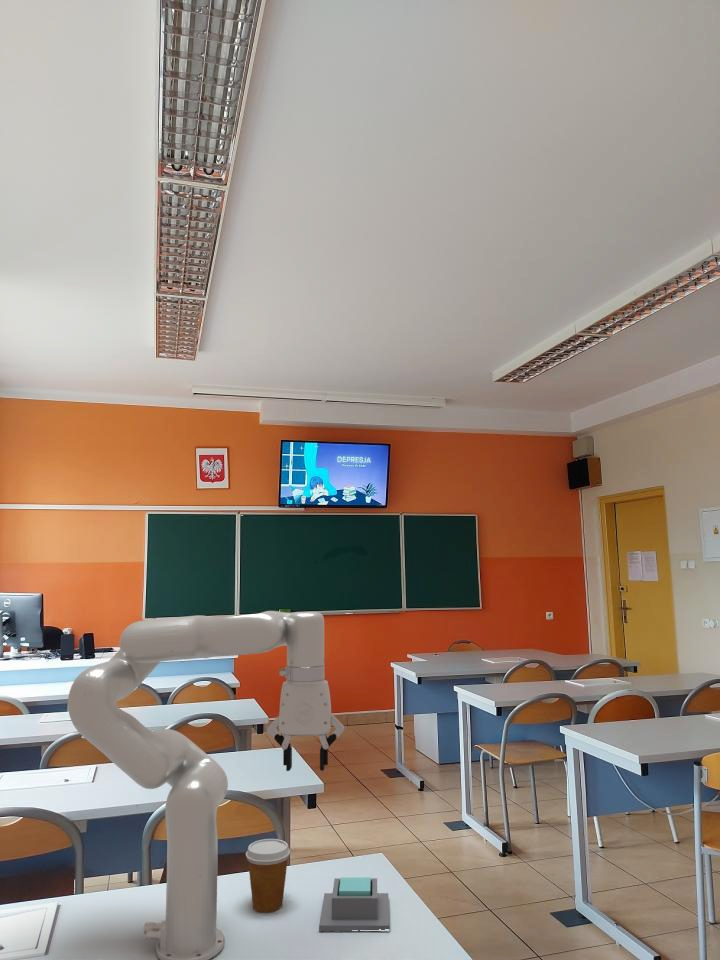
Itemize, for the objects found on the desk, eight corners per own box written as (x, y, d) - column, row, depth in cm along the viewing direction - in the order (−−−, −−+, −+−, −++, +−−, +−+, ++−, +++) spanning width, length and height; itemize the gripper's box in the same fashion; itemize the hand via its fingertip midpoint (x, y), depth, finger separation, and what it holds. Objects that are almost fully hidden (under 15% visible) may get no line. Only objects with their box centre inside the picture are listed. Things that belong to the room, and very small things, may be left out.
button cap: (339, 912, 139) (339, 891, 139) (340, 897, 145) (340, 877, 146) (370, 912, 139) (370, 891, 139) (370, 897, 145) (370, 877, 146)
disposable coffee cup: (295, 911, 143) (295, 850, 145) (250, 920, 140) (251, 857, 142) (283, 892, 152) (283, 835, 154) (241, 900, 149) (241, 841, 150)
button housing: (319, 932, 135) (318, 903, 136) (324, 899, 149) (324, 873, 149) (389, 932, 134) (389, 903, 135) (388, 899, 148) (388, 873, 149)
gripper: (259, 677, 133) (258, 774, 130) (347, 676, 132) (348, 774, 130) (265, 672, 140) (265, 764, 137) (349, 671, 140) (350, 763, 137)
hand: (305, 768), depth 134 cm, fingers open, 6 cm apart
